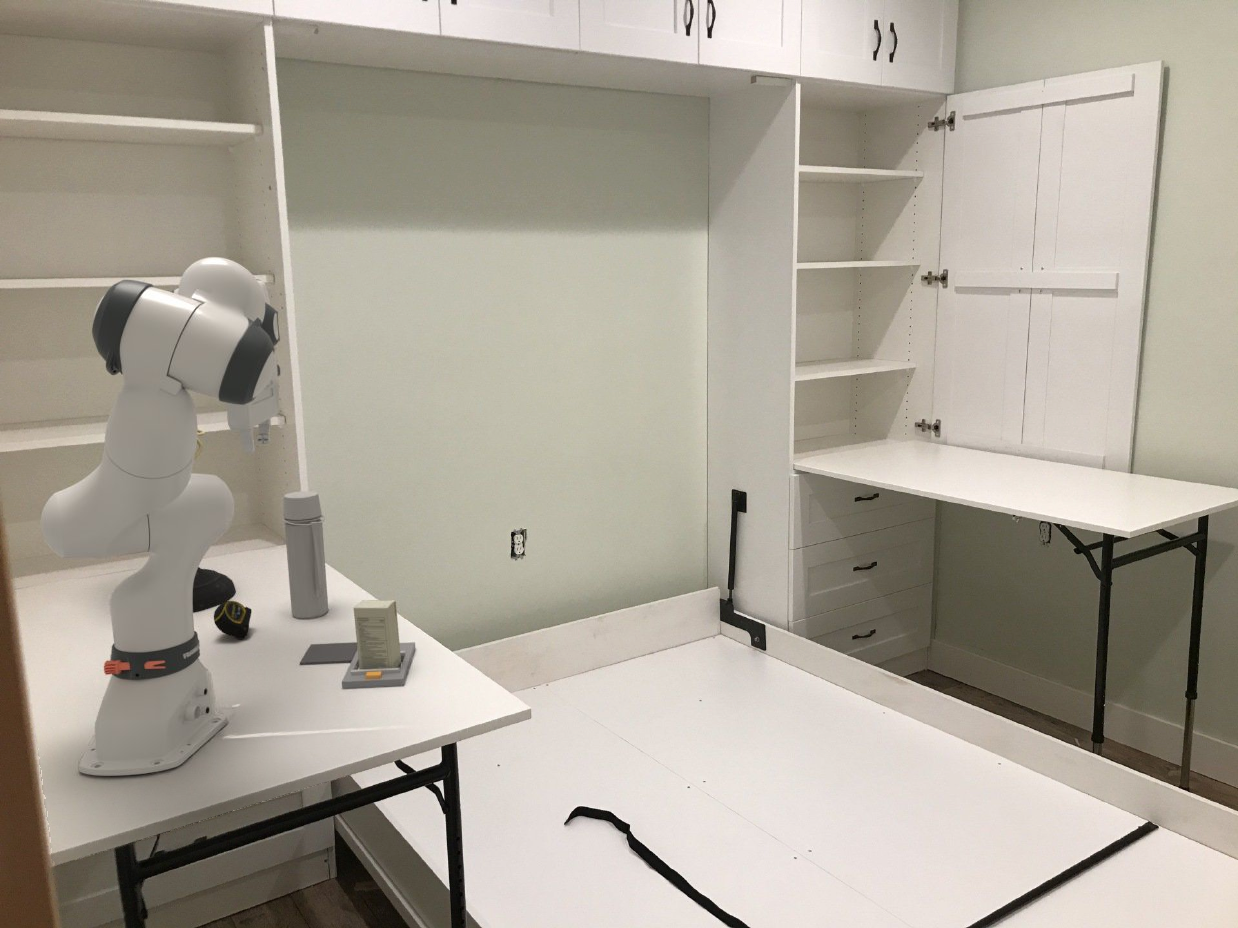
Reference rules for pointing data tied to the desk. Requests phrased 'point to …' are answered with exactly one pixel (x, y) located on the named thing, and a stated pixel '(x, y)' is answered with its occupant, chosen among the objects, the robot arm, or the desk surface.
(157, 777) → the desk surface
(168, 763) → the robot arm
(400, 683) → the panel
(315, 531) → the water bottle
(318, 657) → the mat
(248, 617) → the tape measure
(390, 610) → the skincare box
